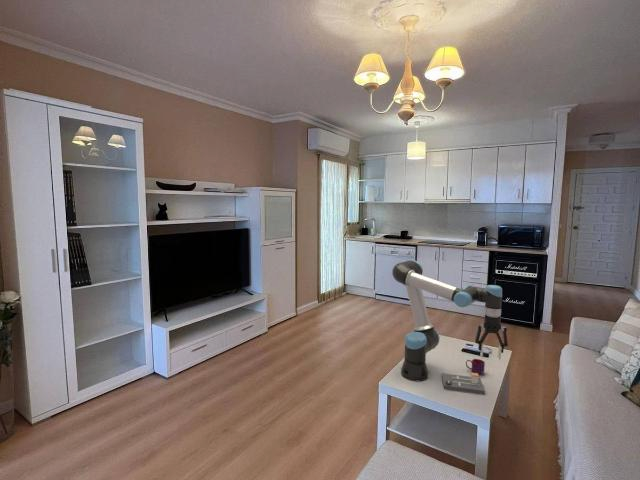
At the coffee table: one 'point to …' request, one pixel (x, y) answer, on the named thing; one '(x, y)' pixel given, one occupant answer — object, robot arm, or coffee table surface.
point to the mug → (477, 366)
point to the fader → (474, 378)
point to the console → (462, 383)
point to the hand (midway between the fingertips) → (490, 357)
